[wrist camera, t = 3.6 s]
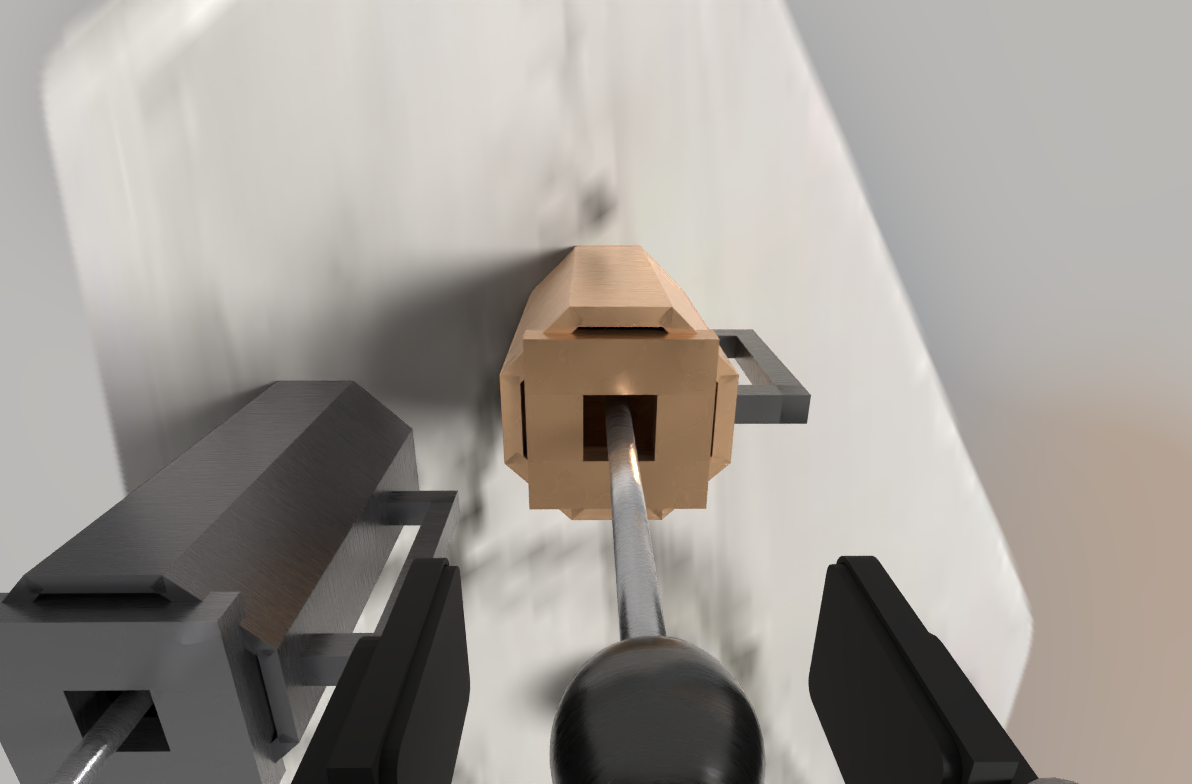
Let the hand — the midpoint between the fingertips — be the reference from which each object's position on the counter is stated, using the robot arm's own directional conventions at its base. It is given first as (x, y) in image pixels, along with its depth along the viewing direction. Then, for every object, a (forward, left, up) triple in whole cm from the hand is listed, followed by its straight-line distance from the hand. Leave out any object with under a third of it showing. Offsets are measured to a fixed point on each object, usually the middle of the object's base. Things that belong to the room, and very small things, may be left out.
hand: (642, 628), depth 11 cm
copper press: (-1, 0, -20) cm, 20 cm away
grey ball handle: (0, 0, -14) cm, 14 cm away
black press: (+10, +11, -20) cm, 25 cm away
